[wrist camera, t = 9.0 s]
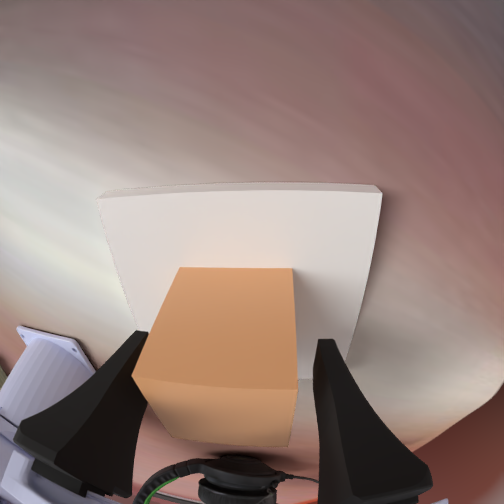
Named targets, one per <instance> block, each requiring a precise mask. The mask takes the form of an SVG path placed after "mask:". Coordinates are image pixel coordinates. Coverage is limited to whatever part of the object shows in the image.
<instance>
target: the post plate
mask: <svg viewBox="0 0 504 504" xmlns="http://www.w3.org/2000/svg"><path fill="white" fill-rule="evenodd" d="M382 194H383V193H382V192H381V191H380V190H379V189H378V188H377V187H376V186H375V185H364V184H342V183H308V182H247V183H212V184H191V185H173V186H159V187H146V188H134V189H123V190H113V191H106V192H105V193H104V194H102V195H101V196H100V197H98V198H97V199H96V201H97V205H98V209H99V213H100V217H101V220H102V224H103V228H104V231H105V235H106V238H107V242H108V245H109V249H110V252H111V255H112V258H113V261H114V265H115V268H116V271H117V274H118V277H119V280H120V282H121V285H122V288H123V291H124V294H125V296H126V299H127V302H128V305H129V307H130V310H131V312H132V315H133V317H134V320H135V323H136V325H137V327H138V330H139V331H146V332H148V333H150V331H151V328H152V326H153V324H154V322H155V319H156V317H157V315H158V313H159V310H160V308H161V306H162V304H163V302H164V299H165V297H166V295H167V293H168V291H169V289H170V286H171V284H172V282H173V280H174V278H175V276H176V274H177V272H178V270H179V268H180V267H206V268H292V272H293V287H294V304H295V323H296V344H297V370H298V379H313V364H314V359H315V354H316V348H317V343H318V339H334V340H335V342H336V344H337V347H338V349H339V351H340V353H341V356H342V358H343V360H344V362H345V361H346V358H347V354H348V351H349V348H350V345H351V341H352V338H353V334H354V331H355V327H356V323H357V320H358V316H359V312H360V308H361V304H362V300H363V296H364V292H365V288H366V283H367V279H368V274H369V269H370V265H371V260H372V255H373V250H374V244H375V239H376V233H377V227H378V221H379V215H380V208H381V201H382Z"/></svg>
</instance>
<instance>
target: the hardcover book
mask: <svg viewBox="0 0 504 504" xmlns="http://www.w3.org/2000/svg"><path fill="white" fill-rule="evenodd" d="M7 378H8V377H7V375H6V374H5V372H4V371H3V369H2V368H1V366H0V390H1V388H2V386H3V385H4V383H5V381H6V379H7Z"/></svg>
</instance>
